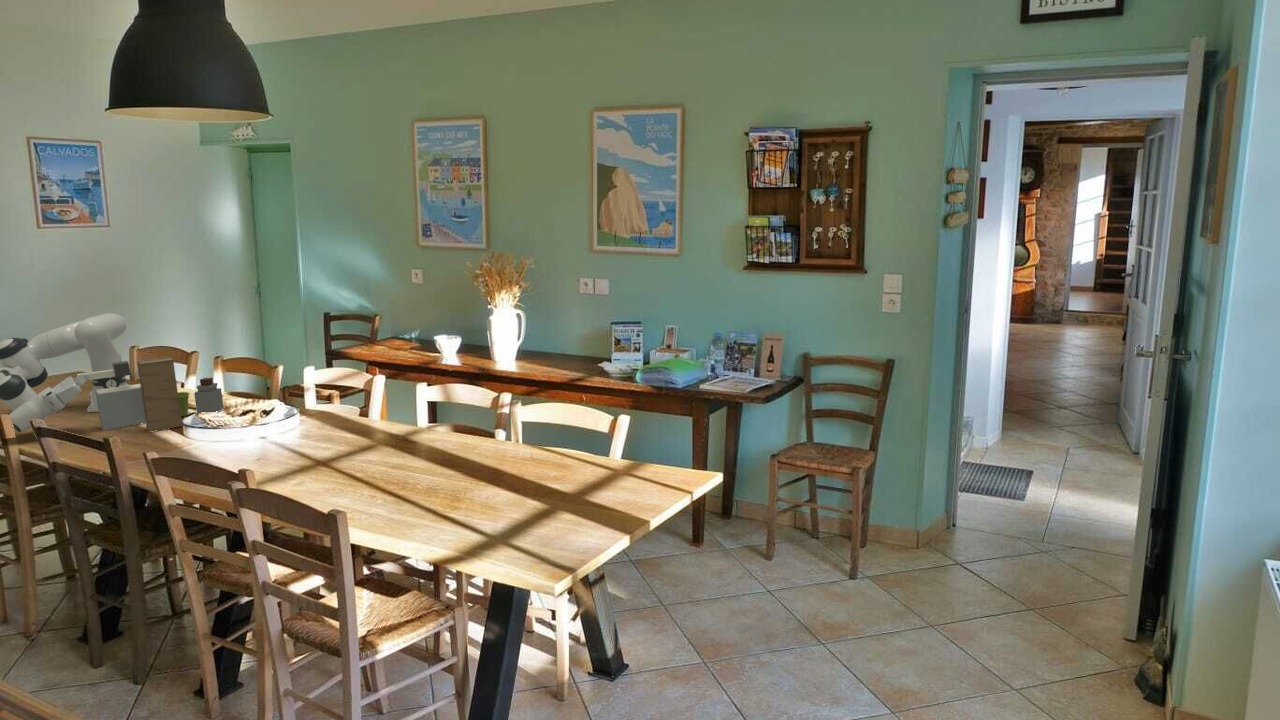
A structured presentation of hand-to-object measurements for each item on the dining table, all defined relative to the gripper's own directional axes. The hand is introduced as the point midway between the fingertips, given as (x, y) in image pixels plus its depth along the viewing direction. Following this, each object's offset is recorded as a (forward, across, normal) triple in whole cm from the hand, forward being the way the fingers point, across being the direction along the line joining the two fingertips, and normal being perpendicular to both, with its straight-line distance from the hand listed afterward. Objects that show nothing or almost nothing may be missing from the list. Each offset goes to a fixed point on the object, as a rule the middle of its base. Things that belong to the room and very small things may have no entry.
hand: (87, 375), depth 346 cm
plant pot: (+14, -1, -33) cm, 36 cm away
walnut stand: (+8, +15, -29) cm, 33 cm away
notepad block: (-2, 0, -23) cm, 23 cm away
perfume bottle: (+20, +24, -37) cm, 48 cm away
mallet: (+4, 0, -4) cm, 5 cm away
